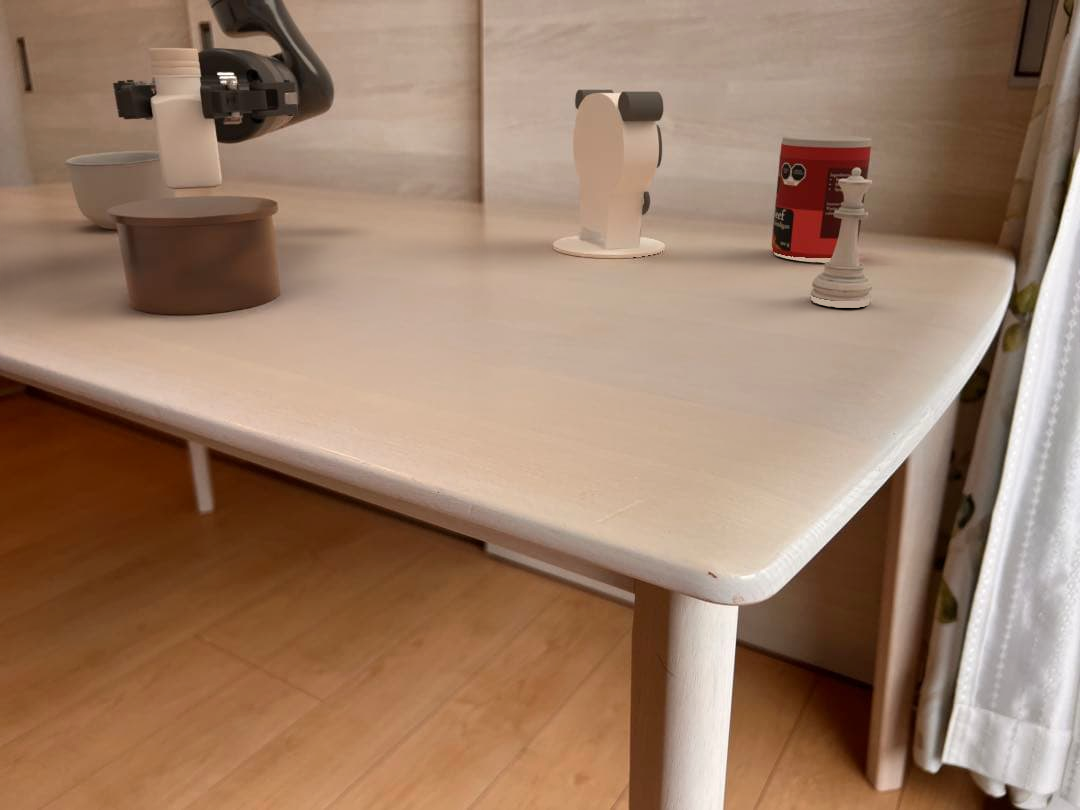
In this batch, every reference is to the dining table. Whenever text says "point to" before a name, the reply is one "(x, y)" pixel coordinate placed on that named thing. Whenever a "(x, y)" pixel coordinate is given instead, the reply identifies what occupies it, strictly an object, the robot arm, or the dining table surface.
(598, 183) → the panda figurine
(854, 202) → the chess piece
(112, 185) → the teacup
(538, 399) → the dining table surface
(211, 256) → the walnut stand
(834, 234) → the canned food
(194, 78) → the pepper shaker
